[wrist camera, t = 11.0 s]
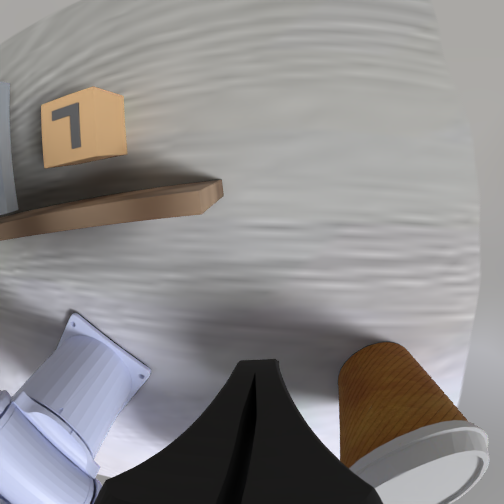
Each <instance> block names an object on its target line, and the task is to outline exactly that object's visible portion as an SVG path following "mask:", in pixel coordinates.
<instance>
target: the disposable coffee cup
mask: <svg viewBox="0 0 504 504" xmlns="http://www.w3.org/2000/svg"><path fill="white" fill-rule="evenodd" d="M427 374H428V373H427V372H426V371H425V370H424V369H423V368H422V367H421V366H420V364H419V363H418V362H417V361H416V360H415V359H414V358H413V356H412V355H411V354H410V353H409V352H408V351H407V350H406V349H405V348H404V347H403V346H401V345H399V344H396V343H390V342H383V343H377V344H373V345H370V346H367V347H365V348H363V349H361V350H360V351H358V352H356V353H355V354H354V355H353V356H351V357H350V358H349V359H348V360H347V361H346V363H345V364H344V365H343V367H342V369H341V371H340V373H339V377H338V389H339V413H340V414H339V419H340V461H341V462H342V463H343V464H344V465H345V466H346V467H348V468H349V469H350V470H351V471H352V472H354V473H355V474H356V475H357V476H359V477H360V478H361V479H363V480H364V481H365V482H367V483H368V484H370V485H371V486H373V487H374V488H375V490H376V491H377V493H378V495H379V496H380V498H381V500H382V502H383V504H451V503H453V502H454V501H456V500H457V499H459V498H460V497H462V496H463V495H464V494H465V493H467V492H468V491H469V490H470V489H471V488H472V487H473V486H474V485H475V484H476V483H477V482H478V481H479V480H480V478H481V477H482V476H483V474H484V473H485V471H486V470H487V467H488V464H489V454H488V450H487V448H488V442H489V440H488V436H487V433H486V432H485V431H484V430H483V429H481V428H479V427H478V426H476V425H474V424H473V423H471V422H468V421H467V419H466V418H465V417H464V416H463V414H461V412H460V411H459V410H458V408H457V407H456V406H455V405H453V402H452V401H451V400H450V399H449V397H448V396H447V395H445V394H444V392H443V391H442V390H441V389H440V387H439V386H438V385H437V384H436V382H435V381H434V380H433V379H431V377H430V376H429V375H427Z"/></svg>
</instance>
